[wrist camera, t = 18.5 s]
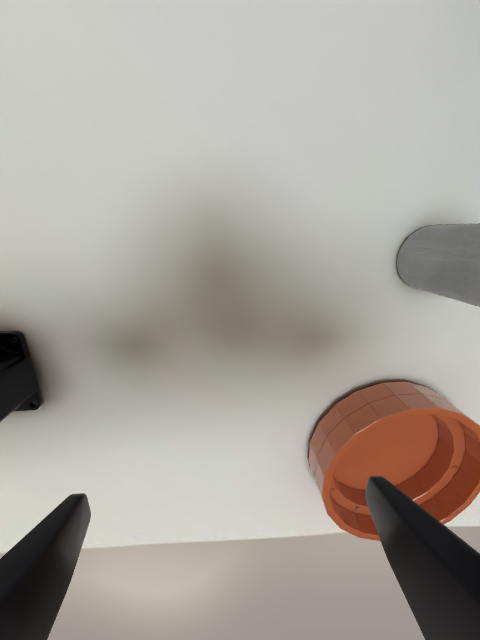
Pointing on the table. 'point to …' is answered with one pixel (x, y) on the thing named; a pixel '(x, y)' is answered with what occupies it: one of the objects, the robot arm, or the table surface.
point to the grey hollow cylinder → (443, 261)
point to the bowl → (395, 453)
